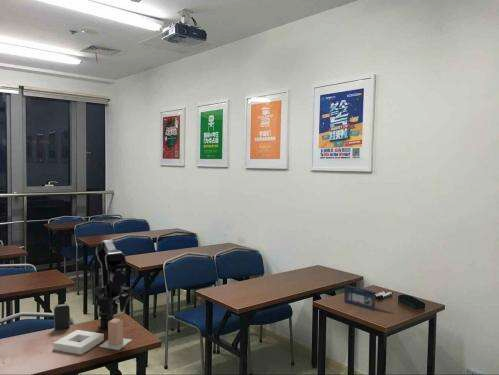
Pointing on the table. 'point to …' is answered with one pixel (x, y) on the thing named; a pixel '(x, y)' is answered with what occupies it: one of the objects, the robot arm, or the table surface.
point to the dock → (73, 346)
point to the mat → (116, 347)
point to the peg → (115, 331)
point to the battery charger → (61, 316)
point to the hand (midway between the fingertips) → (115, 315)
